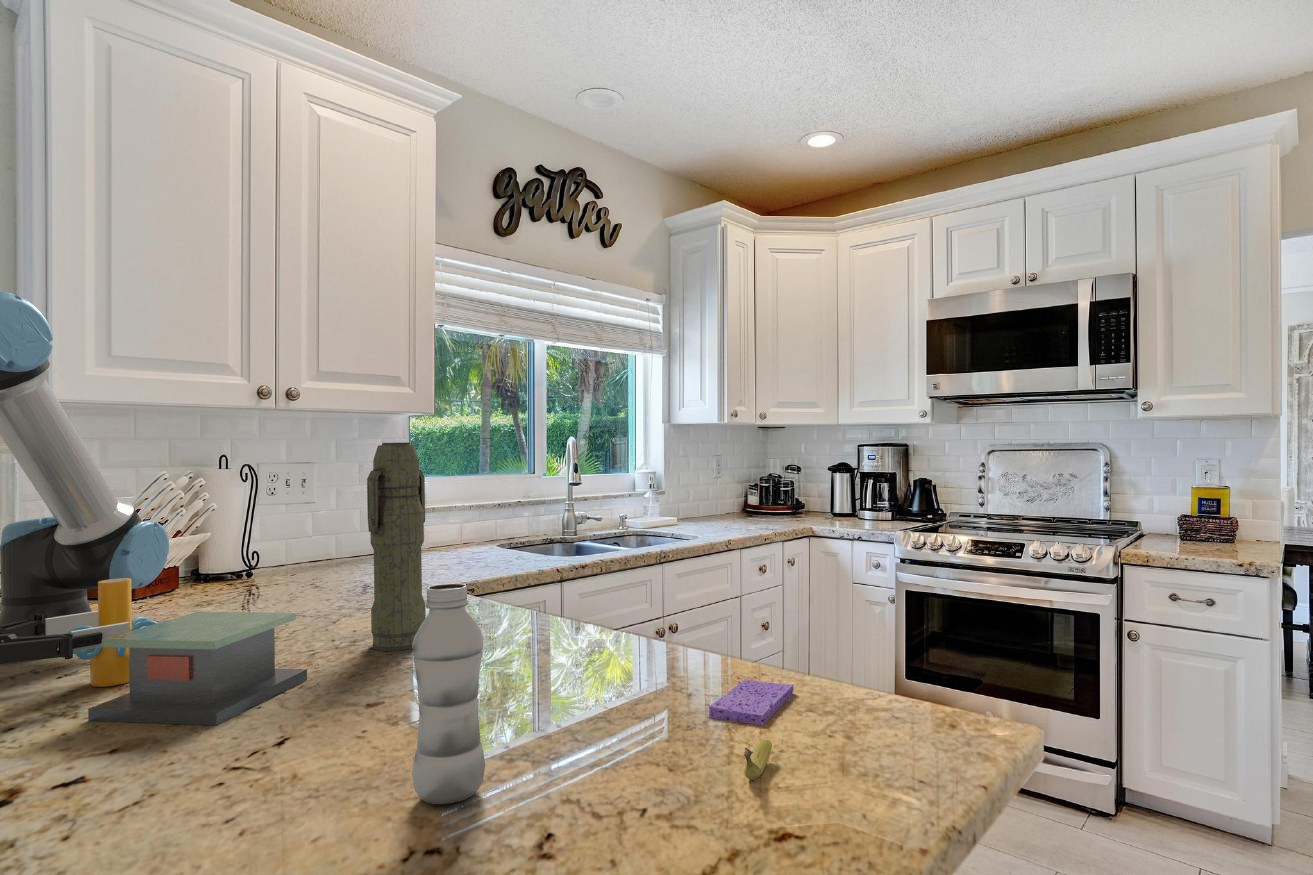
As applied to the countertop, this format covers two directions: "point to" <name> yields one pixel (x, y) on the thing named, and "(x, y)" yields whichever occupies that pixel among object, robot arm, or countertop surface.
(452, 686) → the plastic bottle
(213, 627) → the grey green pedestal stand
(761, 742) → the banana
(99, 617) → the cylinder
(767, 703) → the sponges
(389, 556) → the thermos
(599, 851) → the countertop surface
